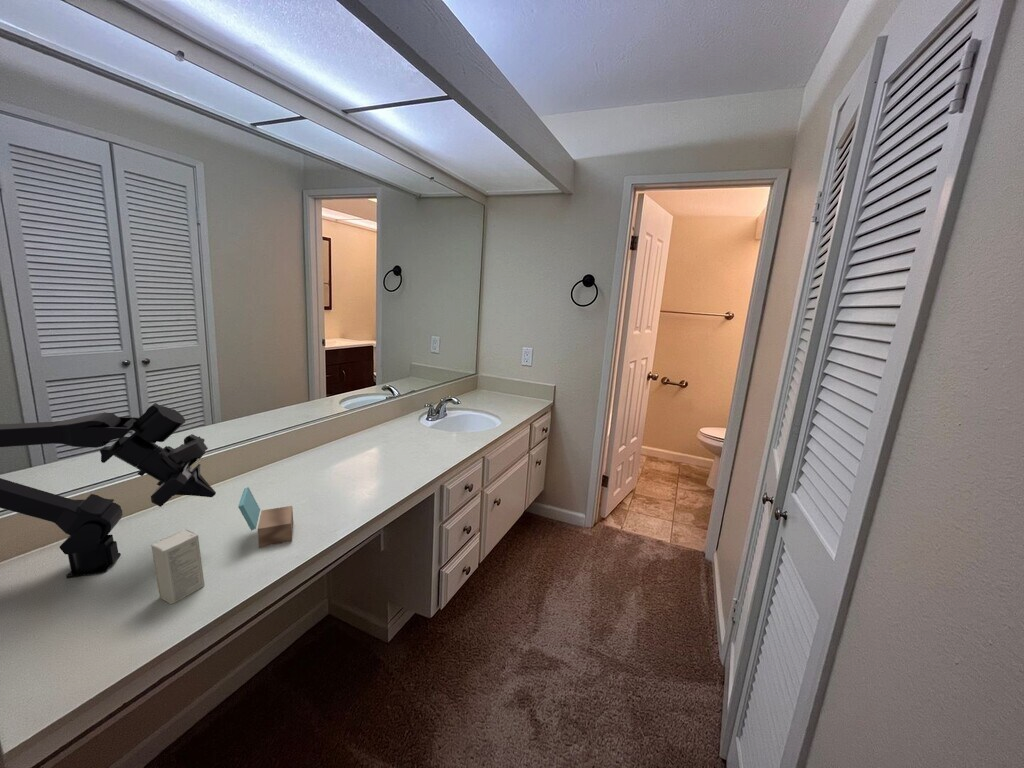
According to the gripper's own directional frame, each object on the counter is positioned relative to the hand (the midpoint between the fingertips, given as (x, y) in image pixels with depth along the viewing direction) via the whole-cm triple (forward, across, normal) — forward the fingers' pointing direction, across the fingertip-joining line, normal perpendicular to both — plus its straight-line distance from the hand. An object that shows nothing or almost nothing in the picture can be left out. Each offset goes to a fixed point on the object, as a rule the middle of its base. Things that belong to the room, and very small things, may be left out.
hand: (214, 495), depth 95 cm
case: (+18, 0, +1) cm, 18 cm away
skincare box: (+7, -16, +12) cm, 21 cm away
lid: (+8, 0, -2) cm, 9 cm away
